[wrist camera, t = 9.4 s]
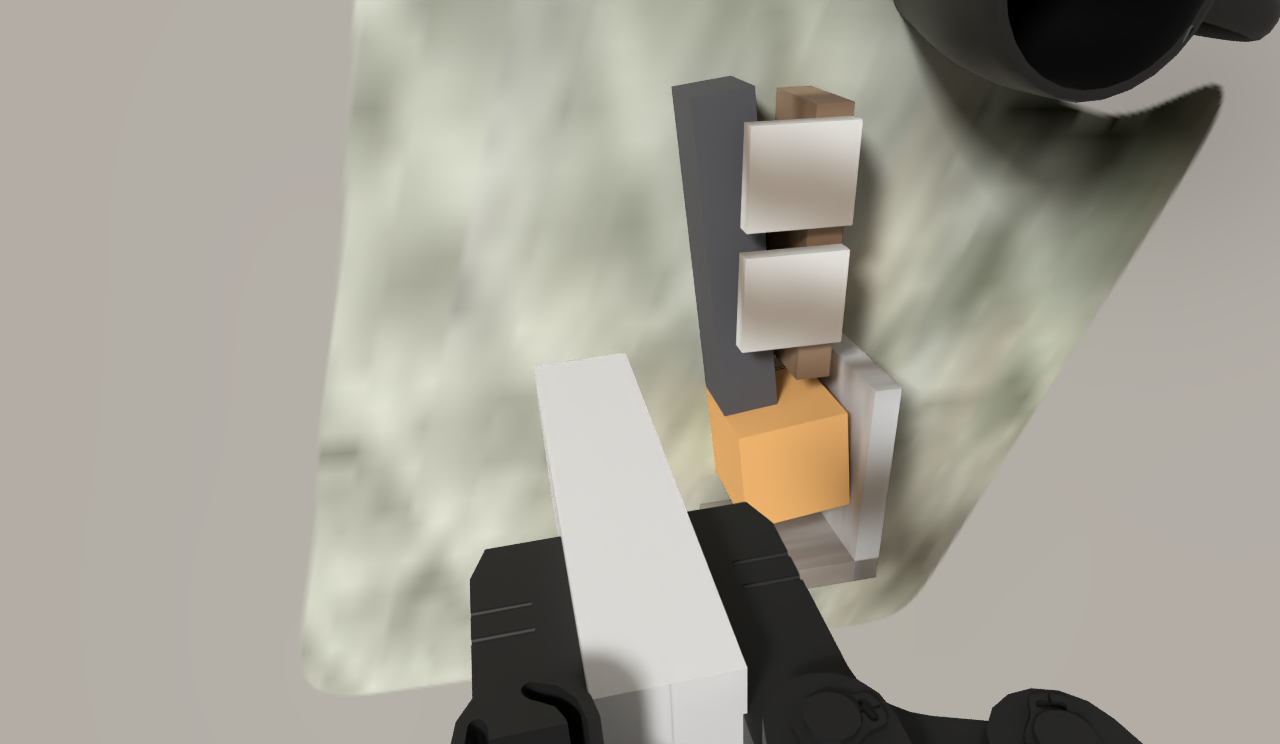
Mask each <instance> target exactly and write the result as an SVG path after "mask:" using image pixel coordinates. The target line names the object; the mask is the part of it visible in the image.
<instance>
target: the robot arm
mask: <svg viewBox="0 0 1280 744" xmlns="http://www.w3.org/2000/svg"><path fill="white" fill-rule="evenodd" d="M533 369H534V376H535V383H536V390H537V396H538V403H539V410H540V417H541V424H542V431H543V438H544V445H545V452H546V459H547V466H548V473H549V480H550V487H551V494H552V501H553V507H554V513H555V519H556V525H557V531H558V537H554V538H548V539H543V540H537V541H531V542H526V543H520V544H514V545H508V546H503V547H497V548H491V549H486V550H485V551H484V553H483V555H482V557H481V559H480V561H479V563H478V565H477V567H476V569H475V571H474V573H473V575H472V577H471V579H470V608H471V640H472V645H471V655H472V700H471V701H470V703H469V704H468V706H467V707H466V708H465V710H464V711H463V713H462V714H461V716H460V717H459V719H458V720H457V721H456V723H455V728H454V732H453V737H452V741H451V744H1142V743H1141V742H1140V741H1139V740H1138V739H1137V738H1136V737H1134V736H1133V735H1132V734H1131V733H1130V732H1129V731H1128V730H1126V729H1125V728H1124V727H1123V726H1122V725H1121V724H1119V723H1118V722H1117V721H1116V720H1115V719H1114V718H1112V717H1111V716H1109V715H1108V714H1106V713H1105V712H1103V711H1102V710H1100V709H1099V708H1097V707H1096V706H1094V705H1093V704H1091V703H1090V702H1088V701H1086V700H1083V699H1080V698H1078V697H1075V696H1072V695H1069V694H1067V693H1064V692H1061V691H1056V690H1044V689H1032V688H1031V689H1027V690H1023V691H1019V692H1015V693H1011V694H1008V695H1007V696H1006V697H1004V698H1003V699H1002V700H1001V701H1000V702H999V703H998V704H996V705H995V706H994V707H993V708H992V711H991V714H990V718H989V721H983V720H972V719H959V718H949V717H938V716H929V715H924V714H918V713H912V712H909V711H906V710H904V709H901V708H898V707H896V706H893V705H891V704H889V703H887V702H886V701H885V700H884V699H883V697H882V696H881V695H880V694H879V693H877V692H876V691H875V690H873V689H872V688H870V687H868V686H867V685H865V684H864V683H862V682H860V681H859V680H857V679H856V677H855V676H854V675H853V673H852V672H851V670H850V669H849V667H848V666H847V664H846V662H845V660H844V658H843V656H842V654H841V652H840V650H839V648H838V646H837V645H836V643H835V641H834V639H833V637H832V635H831V633H830V631H829V629H828V627H827V625H826V623H825V622H824V620H823V618H822V616H821V614H820V612H819V610H818V608H817V606H816V604H815V602H814V600H813V599H812V597H811V595H810V593H809V591H808V589H807V587H806V585H805V583H804V581H803V579H802V580H801V579H800V574H799V572H798V570H797V568H796V566H795V564H794V562H793V560H792V558H791V556H788V551H787V549H786V547H785V545H784V543H783V541H782V539H781V537H780V535H779V533H778V531H777V529H776V528H775V526H774V524H773V522H771V521H770V520H769V519H768V518H766V517H765V516H764V515H762V514H761V513H760V512H759V511H757V510H756V509H755V508H754V507H752V506H751V505H750V504H748V503H747V502H740V503H734V504H729V505H723V506H717V507H711V508H706V509H700V510H694V511H689V512H687V511H686V508H685V506H684V503H683V500H682V498H681V495H680V493H679V490H678V487H677V485H676V482H675V480H674V477H673V475H672V472H671V469H670V467H669V464H668V462H667V459H666V456H665V454H664V451H663V449H662V446H661V444H660V441H659V438H658V436H657V433H656V431H655V428H654V425H653V423H652V420H651V418H650V415H649V413H648V410H647V407H646V405H645V402H644V400H643V397H642V394H641V392H640V389H639V387H638V384H637V381H636V379H635V376H634V374H633V371H632V369H631V366H630V363H629V361H628V358H627V356H626V353H621V354H614V355H607V356H600V357H594V358H587V359H580V360H573V361H566V362H559V363H553V364H546V365H539V366H533Z"/></svg>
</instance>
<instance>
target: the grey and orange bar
mask: <svg viewBox="0 0 1280 744" xmlns="http://www.w3.org/2000/svg"><path fill="white" fill-rule="evenodd" d="M672 95H673V104H674V112H675V121H676V130H677V138H678V147H679V155H680V164H681V173H682V181H683V190H684V199H685V207H686V216H687V225H688V233H689V242H690V251H691V259H692V268H693V276H694V285H695V294H696V302H697V311H698V320H699V328H700V337H701V346H702V354H703V363H704V372H705V380H706V389H707V397H708V406H709V415H710V423H711V432H712V441H713V449H714V458H715V467H716V472H717V474H718V476H719V478H720V480H721V481H722V483H723V485H724V487H725V489H726V491H727V493H728V495H729V496H730V498H731V500H732V502H733V504H734V503H740V502H747V503H748V504H750V505H751V506H752V507H754V508H755V509H756V510H757V511H759V512H760V513H761V514H762V515H764V516H765V517H766V518H768V519H769V520H770V521H771V522H773V523H777V522H781V521H785V520H789V519H793V518H797V517H801V516H805V515H809V514H813V513H817V512H821V511H825V510H829V509H833V508H836V507H840V506H844V505H848V504H850V493H849V452H848V413H847V412H846V411H845V409H844V408H843V407H842V406H841V405H840V404H839V403H838V402H837V400H836V399H835V398H834V397H833V396H832V395H831V394H830V393H829V391H828V390H827V389H826V388H825V387H824V386H823V385H822V384H821V382H820V381H819V380H818V379H817V378H809V379H801V380H796V379H795V378H794V376H793V375H792V374H791V373H790V372H789V370H788V369H787V368H785V369H780V370H776V371H775V366H774V351H773V350H764V351H755V352H746V353H742V352H741V351H740V349H739V348H738V347H737V345H736V333H737V306H738V279H739V253H742V252H753V251H764V250H766V238H765V233H754V234H746V233H745V232H744V231H743V230H742V229H741V228H740V225H741V198H742V171H743V144H744V122H756V121H757V109H756V95H755V86H754V85H751V84H749V83H747V82H744V81H742V80H739V79H737V78H735V77H732V76H727V77H722V78H716V79H711V80H705V81H700V82H694V83H689V84H684V85H678V86H673V87H672Z"/></svg>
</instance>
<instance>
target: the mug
mask: <svg viewBox="0 0 1280 744" xmlns="http://www.w3.org/2000/svg"><path fill="white" fill-rule="evenodd" d="M894 3H895V6H896V8H897V9H898V11H899V12H900V14H901V15H902V17H903V18H904V19H905V20H906V21H907V22H908V23H909V24H910V25H911V26H912V27H914V28H915V29H916V30H917V31H918V32H919V33H920V34H921V35H922V36H923V37H924V38H925V39H926V40H927V41H928V42H929V43H930V44H931V45H932V46H934V47H935V48H936V49H937V50H938V51H939V52H940V53H942V54H943V55H944V56H945V57H947V58H948V59H949V60H950V61H952V62H954V63H955V64H957V65H958V66H960V67H962V68H963V69H965V70H967V71H969V72H971V73H973V74H975V75H978V76H980V77H982V78H984V79H986V80H988V81H990V82H992V83H995V84H997V85H999V86H1002V87H1006V88H1010V89H1014V90H1018V91H1022V92H1026V93H1030V94H1035V95H1039V96H1043V97H1047V98H1052V99H1057V100H1064V101H1070V102H1076V103H1077V102H1086V101H1094V100H1102V99H1106V98H1109V97H1111V96H1114V95H1117V94H1120V93H1122V92H1125V91H1128V90H1130V89H1132V88H1134V87H1135V86H1137V85H1139V84H1140V83H1142V82H1144V81H1145V80H1147V79H1148V78H1150V77H1152V76H1153V75H1155V74H1156V73H1157V72H1158V71H1159V70H1160V69H1161V68H1163V67H1164V66H1165V65H1166V64H1167V63H1168V62H1169V61H1171V60H1172V59H1173V58H1174V57H1175V56H1176V55H1177V54H1178V53H1179V52H1180V51H1181V49H1182V48H1183V47H1184V46H1185V45H1186V43H1187V42H1188V41H1189V40H1190V38H1191V37H1192V36H1193V35H1197V36H1203V37H1209V38H1216V39H1222V40H1230V41H1241V42H1242V41H1243V42H1249V41H1256V40H1260V39H1261V38H1263V37H1264V36H1265V35H1267V34H1268V33H1270V32H1271V30H1272V29H1273V28H1274V26H1275V25H1276V24H1277V22H1278V20H1279V18H1280V0H894Z"/></svg>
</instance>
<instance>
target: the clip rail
mask: <svg viewBox="0 0 1280 744" xmlns="http://www.w3.org/2000/svg"><path fill="white" fill-rule="evenodd" d="M854 106H855V102H854V101H851V100H849V99H846V98H843V97H840V96H837V95H835V94H832V93H829V92H826V91H823V90H821V89H818V88H815V87H812V86H803V87H784V88H777V95H776V114H775V120H772V121H756V122H744V144H743V171H742V198H741V225H740V228H741V229H742V230H743V231H744V232H745V233H746V234H754V233H766V232H769V246H768V250H764V251H753V252H742V253H739V279H738V306H737V333H736V345H737V347H738V348H739V349H740V351H741V352H742V353H746V352H755V351H764V350H773V351H774V354H775V355H776V356H777V357H778V359H779V360H780V361H781V362H782V363H783V364H784V366H785V367H786V368H787V369H788V370H789V372H790V373H791V374H792V375H793V376H794V378H795V379H796V380H801V379H809V378H817V379H818V380H819V381H820V382H821V384H822V385H823V386H824V387H825V388H826V389H827V390H828V391H829V393H830V394H831V395H832V396H833V397H834V398H835V399H836V400H837V402H838V403H839V404H840V405H841V406H842V407H843V408H844V409H845V411H846V412H847V413H848V452H849V493H850V504H848V505H844V506H840V507H836V508H833V509H829V510H825V511H821V512H817V513H813V514H809V515H805V516H801V517H797V518H793V519H789V520H785V521H781V522H777V523H773V524H774V526H775V528H776V529H777V531H778V533H779V535H780V537H781V539H782V541H783V543H784V545H785V547H786V549H787V551H788V556H791V558H792V560H793V562H794V564H795V566H796V568H797V570H798V572H799V574H800V579H801V580H802V579H803V581H804V583H805V585H806V587H807V589H809V588H815V587H821V586H827V585H832V584H838V583H844V582H850V581H856V580H862V579H868V578H874V577H876V571H877V564H878V557H879V550H880V543H881V536H882V528H883V521H884V514H885V507H886V500H887V493H888V485H889V478H890V471H891V464H892V457H893V450H894V442H895V435H896V428H897V421H898V414H899V407H900V399H901V392H902V388H901V387H900V386H899V385H898V384H897V383H896V382H895V381H894V380H893V379H892V378H890V377H889V376H888V375H887V374H886V373H885V372H884V371H883V370H882V369H881V368H880V367H879V366H878V365H877V364H876V363H875V362H873V361H872V360H871V359H870V358H869V357H868V356H867V355H866V354H865V353H864V352H863V351H862V350H861V349H860V348H859V347H857V346H856V345H855V344H854V343H853V342H852V341H851V340H850V339H849V338H848V337H847V336H846V335H845V334H844V333H843V332H842V326H843V316H844V306H845V296H846V286H847V276H848V266H849V256H850V249H848V248H847V247H846V246H844V245H843V244H842V233H843V226H848V225H853V216H854V205H855V195H856V185H857V175H858V165H859V155H860V145H861V135H862V125H863V119H861V118H858V117H856V116H854ZM729 504H733V502H732V500H728V501H721V502H714V503H707V504H700V509H706V508H711V507H717V506H723V505H729Z"/></svg>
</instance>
